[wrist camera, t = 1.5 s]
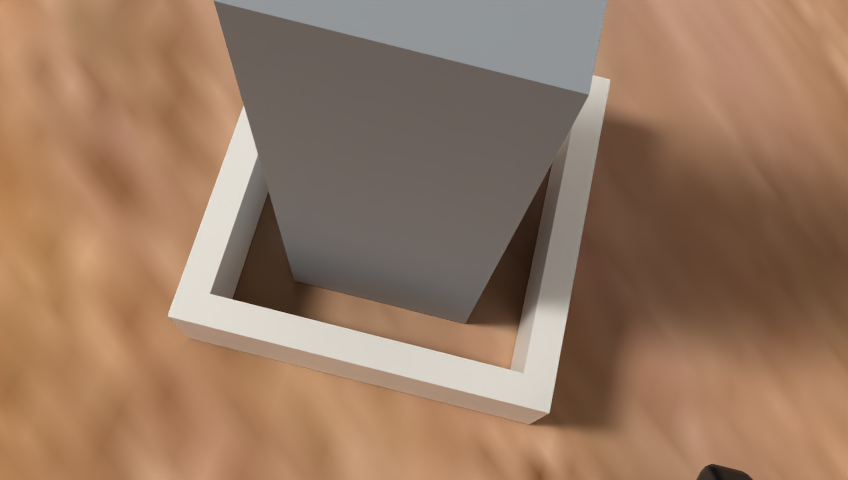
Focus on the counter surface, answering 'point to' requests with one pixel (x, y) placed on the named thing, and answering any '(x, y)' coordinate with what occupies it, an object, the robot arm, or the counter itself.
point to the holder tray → (376, 356)
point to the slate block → (408, 132)
